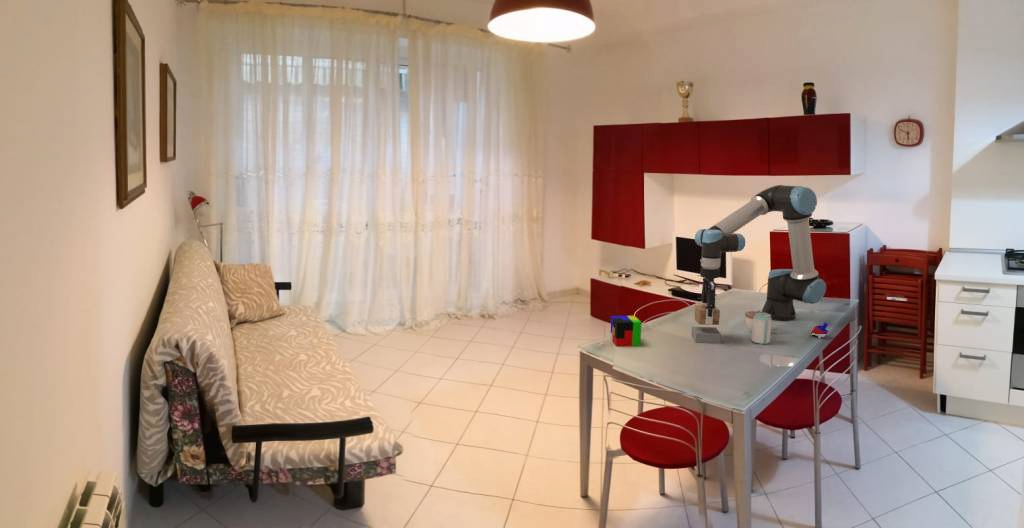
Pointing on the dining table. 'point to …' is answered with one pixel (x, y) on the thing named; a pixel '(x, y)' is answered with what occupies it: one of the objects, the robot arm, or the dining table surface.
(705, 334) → the tower base
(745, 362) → the dining table surface
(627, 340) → the puzzle toy
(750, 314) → the lidded jar
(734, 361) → the dining table surface
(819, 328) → the multicoloured piece
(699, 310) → the walnut brick
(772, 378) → the dining table surface
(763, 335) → the can
